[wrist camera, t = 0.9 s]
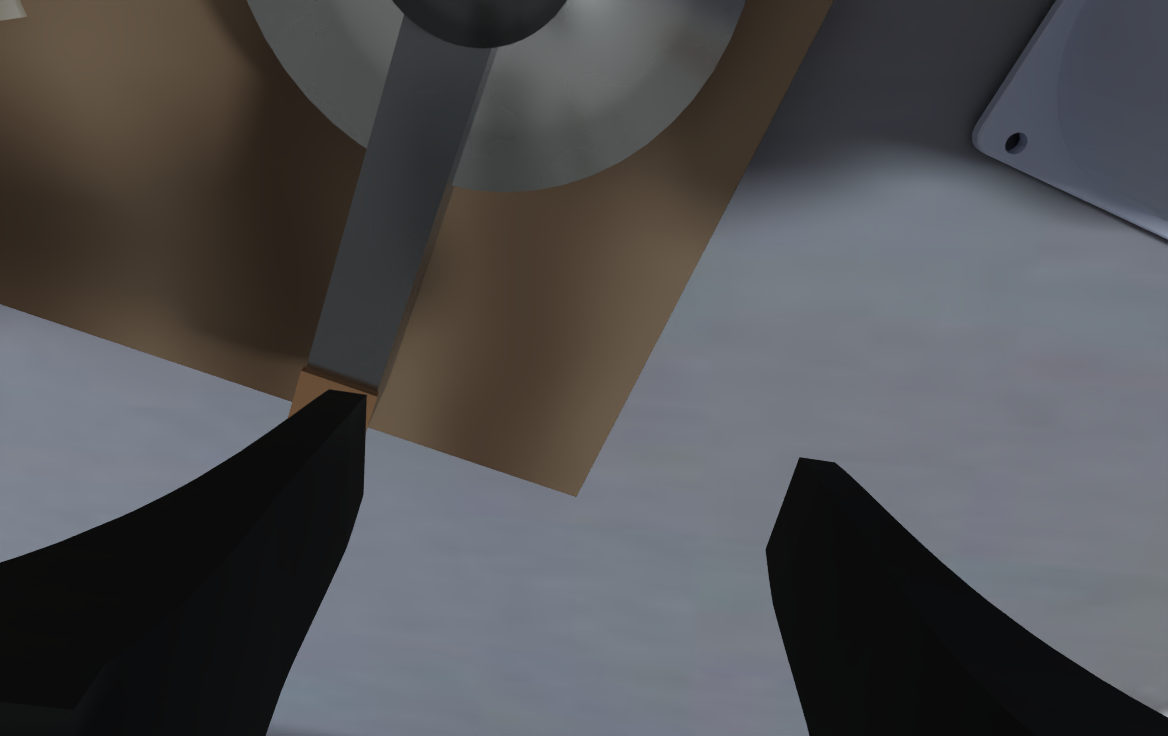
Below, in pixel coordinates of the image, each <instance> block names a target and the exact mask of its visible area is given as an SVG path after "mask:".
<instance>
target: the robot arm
mask: <svg viewBox="0 0 1168 736" xmlns="http://www.w3.org/2000/svg"><path fill="white" fill-rule="evenodd" d="M1018 132H1019V135H1020V140H1019V142H1018V144H1017V145H1016V146H1015V147H1014V148H1013V149H1011V150H1008V151H1006V149H1005V144H1006V141H1007V139H1008V138H1009V137H1010V136H1011V135H1012V134H1015V133H1018ZM972 141H973V144H974V146H975V147H976V148H977V149H978V150H979V151H981V152H982V153H984V154H986V155H988V156H990V157H993V158H995V159H997V160H999V161H1001V162H1003V163H1005V164H1007V165H1010V166H1012V167H1014V168H1016V169H1018V170H1020V171H1022V172H1025V173H1027V174H1029V175H1031V176H1033V177H1035V178H1037V179H1040V180H1042V181H1044V182H1046V183H1048V184H1050V185H1052V186H1054V187H1057V188H1059V189H1061V190H1063V191H1065V192H1067V193H1069V194H1072V195H1074V196H1076V197H1078V198H1080V199H1082V200H1084V201H1087V202H1089V203H1091V204H1093V205H1095V206H1097V207H1099V208H1102V209H1104V210H1106V211H1108V212H1110V213H1112V214H1114V215H1116V216H1119V217H1121V218H1123V219H1125V220H1127V221H1129V222H1131V223H1134V224H1136V225H1138V226H1140V227H1142V228H1144V229H1146V230H1149V231H1151V232H1153V233H1155V234H1157V235H1159V236H1161V237H1163V238H1166V239H1168V0H1056V1H1055V2H1054V4H1053V6H1052V7H1051V9H1050V10H1049V12H1048V13H1047V15H1046V16H1045V18H1044V19H1043V21H1042V23H1041V24H1040V26H1039V27H1038V29H1037V30H1036V32H1035V33H1034V35H1033V37H1032V38H1031V40H1030V41H1029V43H1028V44H1027V46H1026V47H1025V49H1024V50H1023V52H1022V54H1021V55H1020V57H1019V58H1018V60H1017V61H1016V63H1015V64H1014V66H1013V68H1012V69H1011V71H1010V72H1009V74H1008V75H1007V77H1006V78H1005V80H1004V81H1003V83H1002V85H1001V86H1000V88H999V89H998V91H997V92H996V94H995V95H994V97H993V99H992V100H991V102H990V103H989V105H988V106H987V108H986V109H985V111H984V112H983V114H982V116H981V117H980V119H979V120H978V122H977V123H976V125H975V127H974V130H973V132H972ZM366 406H367V395H366V394H359V393H352V392H345V391H338V390H331V389H328V390H327V391H326V392H324V393H323V394H321V395H320V396H318V397H317V398H315V399H314V400H313V401H311V402H310V403H308V404H307V405H306V406H304V407H303V408H301V409H300V410H299V411H297V412H296V413H295V414H293V415H292V416H291V417H289V418H288V419H286V420H285V421H284V422H282V423H281V424H279V425H278V426H277V427H275V428H274V429H272V430H271V431H270V432H268V433H267V434H265V435H264V436H262V437H261V438H259V439H258V440H256V441H255V442H254V443H252V444H251V445H249V446H248V447H246V448H245V449H243V450H242V451H240V452H239V453H237V454H236V455H234V456H232V457H231V458H229V459H227V460H226V461H224V462H223V463H221V464H219V465H218V466H216V467H214V468H213V469H211V470H210V471H208V472H206V473H205V474H203V475H201V476H200V477H198V478H197V479H195V480H193V481H191V482H189V483H188V484H186V485H184V486H182V487H180V488H178V489H177V490H175V491H173V492H171V493H169V494H167V495H165V496H163V497H161V498H159V499H157V500H155V501H153V502H151V503H149V504H147V505H145V506H143V507H141V508H139V509H137V510H135V511H132V512H130V513H128V514H126V515H124V516H122V517H119V518H117V519H114V520H112V521H109V522H107V523H105V524H102V525H100V526H97V527H95V528H93V529H90V530H88V531H85V532H83V533H80V534H78V535H76V536H73V537H71V538H68V539H66V540H64V541H61V542H58V543H56V544H53V545H50V546H48V547H45V548H42V549H39V550H36V551H33V552H31V553H28V554H25V555H22V556H19V557H16V558H13V559H10V560H7V561H4V562H1V563H0V736H266V733H267V730H268V727H269V724H270V721H271V719H272V716H273V713H274V710H275V707H276V704H277V701H278V699H279V696H280V693H281V690H282V688H283V685H284V683H285V681H286V678H287V676H288V673H289V671H290V669H291V666H292V664H293V662H294V660H295V657H296V655H297V653H298V651H299V649H300V647H301V645H302V643H303V640H304V638H305V636H306V634H307V632H308V630H309V628H310V626H311V623H312V621H313V619H314V617H315V615H316V613H317V611H318V609H319V606H320V604H321V602H322V600H323V598H324V596H325V594H326V592H327V589H328V587H329V585H330V583H331V581H332V579H333V576H334V574H335V572H336V570H337V568H338V566H339V563H340V561H341V559H342V557H343V555H344V552H345V550H346V548H347V545H348V542H349V539H350V536H351V533H352V530H353V527H354V524H355V520H356V517H357V514H358V511H359V507H360V504H361V501H362V498H363V491H364V463H365V434H366ZM766 557H767V565H768V574H769V581H770V588H771V595H772V601H773V606H774V610H775V614H776V618H777V621H778V625H779V628H780V632H781V636H782V639H783V643H784V647H785V650H786V654H787V657H788V661H789V664H790V667H791V671H792V674H793V678H794V681H795V685H796V688H797V692H798V695H799V699H800V702H801V706H802V709H803V713H804V716H805V720H806V723H807V727H808V731H809V736H1168V717H1166V716H1164V715H1162V714H1160V713H1159V712H1157V711H1155V710H1153V709H1151V708H1150V707H1148V706H1146V705H1144V704H1142V703H1141V702H1139V701H1137V700H1135V699H1133V698H1132V697H1130V696H1128V695H1127V694H1125V693H1123V692H1122V691H1120V690H1118V689H1117V688H1115V687H1113V686H1112V685H1110V684H1108V683H1106V682H1105V681H1103V680H1101V679H1100V678H1098V677H1097V676H1095V675H1093V674H1092V673H1090V672H1089V671H1087V670H1086V669H1084V668H1083V667H1081V666H1080V665H1078V664H1076V663H1075V662H1073V661H1072V660H1070V659H1069V658H1067V657H1066V656H1064V655H1062V654H1061V653H1059V652H1058V651H1056V650H1055V649H1053V648H1052V647H1050V646H1049V645H1047V644H1046V643H1045V642H1043V641H1042V640H1040V639H1039V638H1037V637H1036V636H1034V635H1033V634H1032V633H1030V632H1029V631H1027V630H1026V629H1025V628H1023V627H1022V626H1021V625H1019V624H1018V623H1017V622H1015V621H1014V620H1013V619H1011V618H1010V617H1009V616H1007V615H1006V614H1005V613H1003V612H1002V611H1001V610H999V609H998V608H997V607H995V606H994V605H993V604H991V603H990V602H989V601H987V600H986V599H985V598H984V597H982V596H981V595H980V594H979V593H977V592H976V591H975V590H974V589H973V588H971V587H970V586H969V585H968V584H967V583H966V582H964V581H963V580H962V579H961V578H960V577H958V576H957V575H956V574H955V573H954V572H953V571H951V570H950V569H949V568H948V567H947V566H946V565H944V564H943V563H942V562H941V561H940V560H939V559H938V558H937V557H935V556H934V555H933V554H932V553H931V552H930V551H929V550H928V549H927V548H925V547H924V546H923V545H922V544H921V543H920V542H919V541H918V540H917V539H916V538H915V537H914V536H913V535H912V534H910V533H909V532H908V531H907V530H906V529H905V528H904V527H903V526H902V525H901V524H900V523H899V522H898V521H897V520H896V519H895V518H894V517H893V516H892V515H891V514H890V513H889V512H887V511H886V510H885V509H884V508H883V507H882V506H881V505H880V504H879V503H878V502H877V501H876V500H875V499H874V498H873V497H872V496H871V495H870V494H869V493H868V492H867V491H866V490H865V489H864V488H863V487H862V486H861V485H860V484H859V483H857V482H856V481H855V480H854V479H853V478H852V477H851V476H850V475H849V474H848V473H847V472H846V471H844V470H843V469H842V468H841V467H840V466H838V465H837V464H836V463H835V462H828V461H821V460H814V459H808V458H801V457H799V460H798V463H797V466H796V468H795V471H794V474H793V476H792V479H791V482H790V485H789V487H788V490H787V493H786V495H785V498H784V501H783V504H782V506H781V509H780V512H779V514H778V517H777V520H776V523H775V525H774V528H773V531H772V534H771V536H770V539H769V542H768V544H767V547H766Z"/></svg>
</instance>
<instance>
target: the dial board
mask: <svg viewBox="0 0 1168 736" xmlns="http://www.w3.org/2000/svg"><path fill="white" fill-rule="evenodd" d="M833 1H834V0H746V1H745V4H744V7H743V10H742V12H741V15H740V17H739V20H738V22H737V25H736V27H735V30H734V32H733V35H732V37H731V40H730V41H729V43H728V45H727V47H726V49H725V51H724V53H723V54H722V56H721V58H720V60H719V62H718V64H717V65H716V67H715V69H714V71H713V72H712V74H711V75H710V77H709V78H708V79H707V81H706V82H705V84H704V85H703V86H702V88H701V89H700V91H699V92H698V93H697V95H696V96H695V98H694V99H693V100H692V101H691V102H690V104H689V105H688V106H687V107H686V108H685V109H684V110H683V111H682V112H681V113H680V115H679V116H678V117H677V118H676V119H675V120H674V121H673V122H672V123H671V124H670V125H669V126H668V127H667V128H666V129H664V130H663V131H662V132H661V133H660V134H659V135H657V136H656V137H655V138H654V139H653V140H651V141H650V142H649V143H648V144H647V145H645V146H644V147H642V148H641V149H639V150H638V151H636V152H635V153H633V154H632V155H630V156H629V157H627V158H626V159H624V160H622V161H621V162H619V163H617V164H615V165H613V166H611V167H609V168H607V169H605V170H603V171H601V172H598V173H596V174H594V175H592V176H589V177H586V178H583V179H580V180H577V181H574V182H571V183H568V184H565V185H560V186H555V187H550V188H545V189H540V190H534V191H518V192H493V191H479V190H471V189H466V188H461V187H456V186H455V187H454V190H453V193H452V196H451V199H450V201H449V204H448V207H447V210H446V213H445V216H444V219H443V222H442V225H441V228H440V231H439V234H438V237H437V240H436V243H435V246H434V249H433V252H432V254H431V257H430V260H429V263H428V266H427V269H426V272H425V275H424V278H423V281H422V284H421V287H420V290H419V293H418V296H417V299H416V302H415V305H414V308H413V310H412V313H411V316H410V319H409V322H408V325H407V328H406V331H405V334H404V337H403V340H402V343H401V346H400V349H399V352H398V355H397V358H396V361H395V363H394V366H393V369H392V372H391V375H390V378H389V381H388V383H387V386H386V388H385V390H384V392H383V394H382V397H381V399H380V401H379V403H378V405H377V408H376V410H375V412H374V414H373V416H372V419H371V421H370V423H369V425H368V427H369V428H372V429H375V430H378V431H381V432H384V433H387V434H390V435H393V436H396V437H399V438H402V439H405V440H408V441H411V442H414V443H417V444H420V445H423V446H426V447H429V448H432V449H435V450H438V451H441V452H444V453H446V454H449V455H452V456H455V457H458V458H461V459H464V460H467V461H470V462H473V463H476V464H479V465H482V466H485V467H488V468H491V469H494V470H497V471H500V472H503V473H506V474H509V475H512V476H515V477H518V478H521V479H524V480H527V481H530V482H533V483H536V484H539V485H542V486H545V487H548V488H551V489H554V490H557V491H560V492H563V493H566V494H569V495H572V496H575V497H576V496H577V494H578V492H579V491H580V489H581V487H582V485H583V483H584V481H585V479H586V477H587V475H588V473H589V471H590V469H591V467H592V465H593V464H594V462H595V460H596V458H597V456H598V454H599V452H600V450H601V448H602V446H603V444H604V442H605V440H606V438H607V437H608V435H609V433H610V431H611V429H612V427H613V425H614V423H615V421H616V419H617V417H618V415H619V413H620V412H621V410H622V408H623V406H624V404H625V402H626V400H627V398H628V396H629V394H630V392H631V390H632V388H633V386H634V385H635V383H636V381H637V379H638V377H639V375H640V373H641V371H642V369H643V367H644V365H645V363H646V361H647V360H648V358H649V356H650V354H651V352H652V350H653V348H654V346H655V344H656V342H657V340H658V338H659V336H660V334H661V333H662V331H663V329H664V327H665V325H666V323H667V321H668V319H669V317H670V315H671V313H672V311H673V309H674V307H675V306H676V304H677V302H678V300H679V298H680V296H681V294H682V292H683V290H684V288H685V286H686V284H687V282H688V281H689V279H690V277H691V275H692V273H693V271H694V269H695V267H696V265H697V263H698V261H699V259H700V257H701V255H702V254H703V252H704V250H705V248H706V246H707V244H708V242H709V240H710V238H711V236H712V234H713V232H714V230H715V229H716V227H717V225H718V223H719V221H720V219H721V217H722V215H723V213H724V211H725V209H726V207H727V205H728V203H729V202H730V200H731V198H732V196H733V194H734V192H735V190H736V188H737V186H738V184H739V182H740V180H741V178H742V176H743V175H744V173H745V171H746V169H747V167H748V165H749V163H750V161H751V159H752V157H753V155H754V153H755V151H756V150H757V148H758V146H759V144H760V142H761V140H762V138H763V136H764V134H765V132H766V130H767V128H768V126H769V124H770V123H771V121H772V119H773V117H774V115H775V113H776V111H777V109H778V107H779V105H780V103H781V101H782V99H783V98H784V96H785V94H786V92H787V90H788V88H789V86H790V84H791V82H792V80H793V78H794V76H795V74H796V72H797V71H798V69H799V67H800V65H801V63H802V61H803V59H804V57H805V55H806V53H807V51H808V49H809V47H810V45H811V44H812V42H813V40H814V38H815V36H816V34H817V32H818V30H819V28H820V26H821V24H822V22H823V20H824V19H825V17H826V15H827V13H828V11H829V9H830V7H831V5H832V3H833ZM366 150H367V149H366V148H365V147H363V146H362V145H360V144H358V143H357V142H356V141H355V140H353V139H352V138H351V137H350V136H348V135H347V134H346V133H345V132H343V131H342V130H341V129H340V128H338V127H337V126H336V125H335V124H333V123H332V122H331V121H330V120H329V119H328V118H327V117H326V116H325V115H324V114H323V113H322V112H321V111H320V110H319V109H318V108H317V107H316V106H315V105H314V104H313V103H312V102H311V101H310V100H309V99H308V98H307V97H306V95H305V94H304V93H303V92H302V90H301V89H300V88H299V87H298V85H297V84H296V83H295V82H294V80H293V79H292V78H291V77H290V75H289V74H288V73H287V72H286V70H285V69H284V67H283V66H282V64H281V63H280V61H279V59H278V58H277V56H276V55H275V53H274V52H273V50H272V48H271V47H270V45H269V44H268V42H267V41H266V39H265V37H264V35H263V33H262V31H261V29H260V27H259V25H258V23H257V21H256V19H255V17H254V15H253V13H252V11H251V9H250V7H249V5H248V2H247V0H0V304H2V305H5V306H8V307H11V308H14V309H17V310H20V311H23V312H26V313H29V314H32V315H34V316H37V317H40V318H43V319H46V320H49V321H52V322H55V323H58V324H61V325H64V326H67V327H70V328H73V329H76V330H79V331H82V332H85V333H88V334H91V335H94V336H97V337H100V338H103V339H106V340H109V341H112V342H115V343H118V344H121V345H124V346H127V347H130V348H133V349H136V350H139V351H142V352H145V353H148V354H151V355H154V356H157V357H160V358H163V359H166V360H169V361H172V362H175V363H178V364H181V365H184V366H187V367H190V368H193V369H196V370H199V371H202V372H205V373H208V374H211V375H214V376H217V377H220V378H223V379H226V380H229V381H232V382H235V383H238V384H240V385H243V386H246V387H249V388H252V389H255V390H258V391H261V392H264V393H267V394H270V395H273V396H276V397H279V398H282V399H285V400H288V401H291V402H293V398H294V394H295V391H296V387H297V384H298V380H299V376H300V373H301V370H302V368H303V367H304V366H305V367H306V366H307V363H308V359H309V355H310V352H311V348H312V344H313V341H314V337H315V334H316V330H317V326H318V323H319V319H320V316H321V312H322V308H323V305H324V301H325V298H326V294H327V290H328V287H329V283H330V279H331V276H332V272H333V269H334V265H335V261H336V258H337V254H338V251H339V247H340V243H341V240H342V236H343V233H344V229H345V225H346V222H347V218H348V215H349V211H350V207H351V204H352V200H353V196H354V193H355V189H356V186H357V182H358V178H359V175H360V171H361V168H362V164H363V160H364V157H365V153H366Z"/></svg>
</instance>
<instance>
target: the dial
mask: <svg viewBox="0 0 1168 736" xmlns="http://www.w3.org/2000/svg"><path fill="white" fill-rule="evenodd" d="M745 1H746V0H247V2H248V5H249V7H250V9H251V11H252V13H253V15H254V17H255V19H256V21H257V23H258V25H259V27H260V29H261V31H262V33H263V35H264V37H265V39H266V41H267V42H268V44H269V45H270V47H271V48H272V50H273V52H274V53H275V55H276V56H277V58H278V59H279V61H280V63H281V64H282V66H283V67H284V69H285V70H286V72H287V73H288V74H289V75H290V77H291V78H292V79H293V80H294V82H295V83H296V84H297V85H298V87H299V88H300V89H301V90H302V92H303V93H304V94H305V95H306V97H307V98H308V99H309V100H310V101H311V102H312V103H313V104H314V105H315V106H316V107H317V108H318V109H319V110H320V111H321V112H322V113H323V114H324V115H325V116H326V117H327V118H328V119H329V120H330V121H331V122H332V123H333V124H335V125H336V126H337V127H338V128H340V129H341V130H342V131H343V132H345V133H346V134H347V135H348V136H350V137H351V138H352V139H353V140H355V141H356V142H357V143H358V144H360V145H362V146H363V147H365V148H366V149H367V150H366V153H365V157H364V160H363V164H362V168H361V171H360V175H359V178H358V182H357V186H356V189H355V193H354V196H353V200H352V204H351V207H350V211H349V215H348V218H347V222H346V225H345V229H344V233H343V236H342V240H341V243H340V247H339V251H338V254H337V258H336V261H335V265H334V269H333V272H332V276H331V279H330V283H329V287H328V290H327V294H326V298H325V301H324V305H323V308H322V312H321V316H320V319H319V323H318V326H317V330H316V334H315V337H314V341H313V344H312V348H311V352H310V355H309V359H308V363H307V366H306V367H305V366H304V367H303V368H302V370H301V373H300V376H299V380H298V384H297V387H296V391H295V394H294V398H293V402H292V405H291V409H290V413H289V416H288V418H289V417H291V416H292V415H293V414H295V413H296V412H297V411H299V410H300V409H301V408H303V407H304V406H306V405H307V404H308V403H310V402H311V401H313V400H314V399H315V398H317V397H318V396H320V395H321V394H323V393H324V392H326V391H327V390H328V389H331V390H338V391H345V392H352V393H359V394H366V395H367V406H366V431H367V428H368V425H369V423H370V421H371V419H372V416H373V414H374V412H375V410H376V408H377V405H378V403H379V401H380V399H381V397H382V394H383V392H384V390H385V388H386V386H387V383H388V381H389V378H390V375H391V372H392V369H393V366H394V363H395V361H396V358H397V355H398V352H399V349H400V346H401V343H402V340H403V337H404V334H405V331H406V328H407V325H408V322H409V319H410V316H411V313H412V310H413V308H414V305H415V302H416V299H417V296H418V293H419V290H420V287H421V284H422V281H423V278H424V275H425V272H426V269H427V266H428V263H429V260H430V257H431V254H432V252H433V249H434V246H435V243H436V240H437V237H438V234H439V231H440V228H441V225H442V222H443V219H444V216H445V213H446V210H447V207H448V204H449V201H450V199H451V196H452V193H453V190H454V187H455V186H456V187H461V188H466V189H471V190H479V191H493V192H518V191H534V190H540V189H545V188H550V187H555V186H560V185H565V184H568V183H571V182H574V181H577V180H580V179H583V178H586V177H589V176H592V175H594V174H596V173H598V172H601V171H603V170H605V169H607V168H609V167H611V166H613V165H615V164H617V163H619V162H621V161H622V160H624V159H626V158H627V157H629V156H630V155H632V154H633V153H635V152H636V151H638V150H639V149H641V148H642V147H644V146H645V145H647V144H648V143H649V142H650V141H651V140H653V139H654V138H655V137H656V136H657V135H659V134H660V133H661V132H662V131H663V130H664V129H666V128H667V127H668V126H669V125H670V124H671V123H672V122H673V121H674V120H675V119H676V118H677V117H678V116H679V115H680V113H681V112H682V111H683V110H684V109H685V108H686V107H687V106H688V105H689V104H690V102H691V101H692V100H693V99H694V98H695V96H696V95H697V93H698V92H699V91H700V89H701V88H702V86H703V85H704V84H705V82H706V81H707V79H708V78H709V77H710V75H711V74H712V72H713V71H714V69H715V67H716V65H717V64H718V62H719V60H720V58H721V56H722V54H723V53H724V51H725V49H726V47H727V45H728V43H729V41H730V40H731V37H732V35H733V32H734V30H735V27H736V25H737V22H738V20H739V17H740V15H741V12H742V10H743V7H744V4H745Z"/></svg>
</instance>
